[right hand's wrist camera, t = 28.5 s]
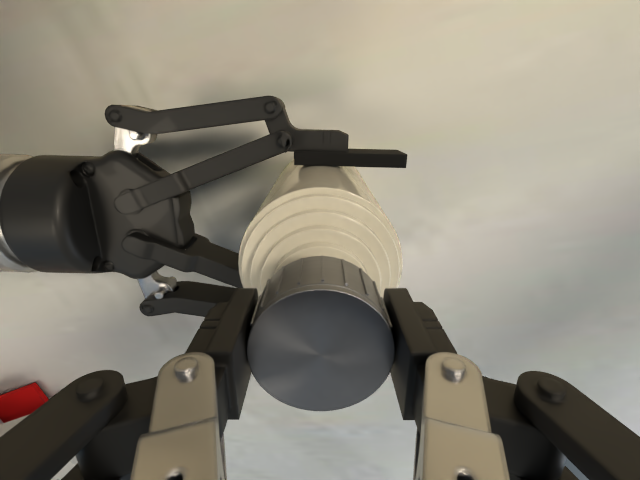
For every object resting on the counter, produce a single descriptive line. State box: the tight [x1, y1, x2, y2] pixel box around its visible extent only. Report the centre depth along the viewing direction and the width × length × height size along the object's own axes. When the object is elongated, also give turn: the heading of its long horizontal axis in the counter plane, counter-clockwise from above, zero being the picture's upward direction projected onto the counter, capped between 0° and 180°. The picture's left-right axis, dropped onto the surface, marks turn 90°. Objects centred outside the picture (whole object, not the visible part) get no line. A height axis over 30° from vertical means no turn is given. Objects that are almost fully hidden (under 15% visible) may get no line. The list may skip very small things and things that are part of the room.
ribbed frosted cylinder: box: [238, 160, 403, 298], centre depth 20 cm, size 8×8×19 cm
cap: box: [247, 256, 395, 411], centre depth 11 cm, size 4×4×2 cm
